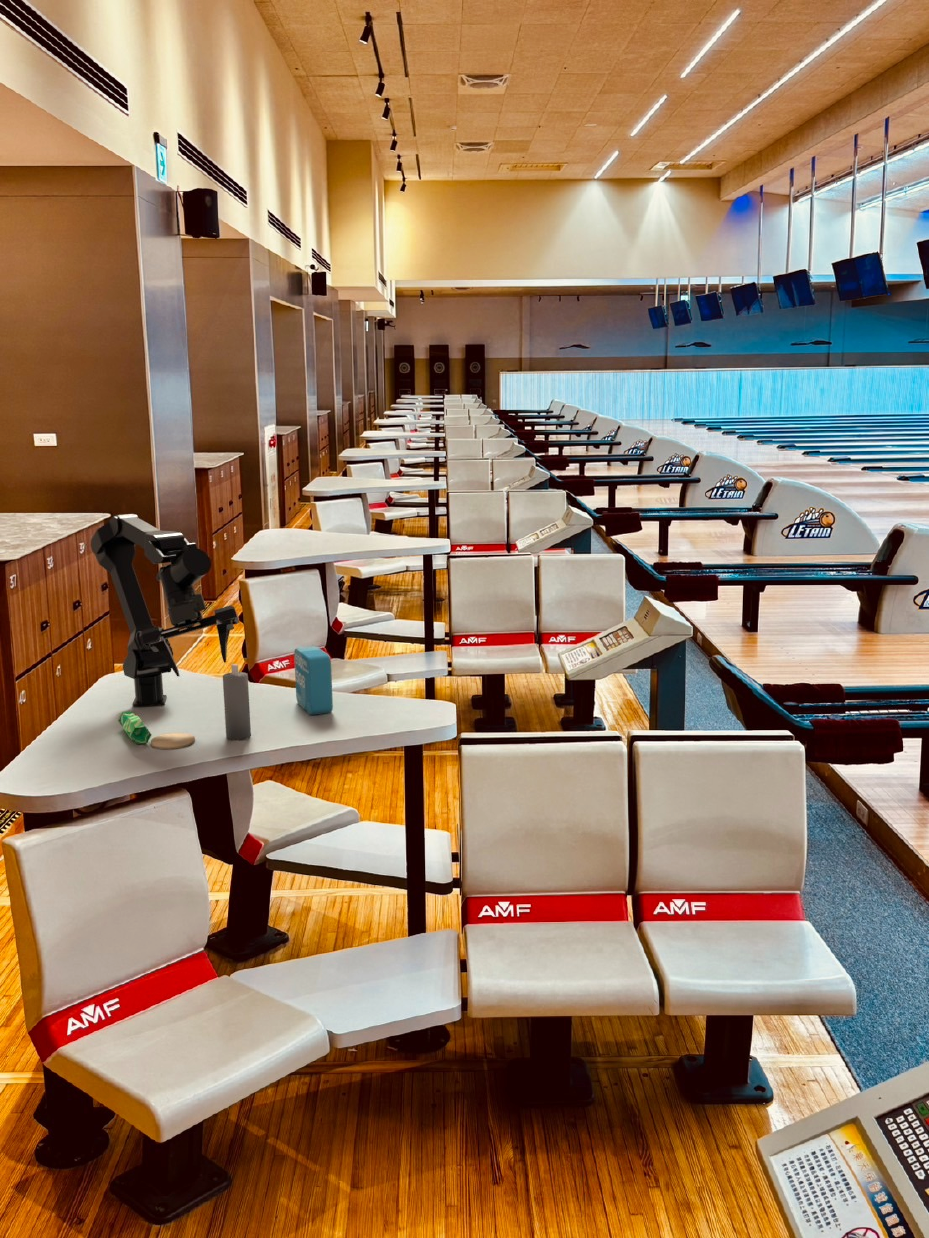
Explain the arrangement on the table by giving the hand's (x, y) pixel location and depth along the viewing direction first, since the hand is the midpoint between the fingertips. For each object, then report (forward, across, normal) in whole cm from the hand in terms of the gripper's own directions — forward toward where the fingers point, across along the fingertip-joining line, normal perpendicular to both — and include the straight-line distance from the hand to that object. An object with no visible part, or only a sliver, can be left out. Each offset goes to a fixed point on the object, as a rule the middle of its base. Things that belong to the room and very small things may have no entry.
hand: (201, 669), depth 219 cm
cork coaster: (+13, -8, -4) cm, 16 cm away
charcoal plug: (+15, +3, -3) cm, 16 cm away
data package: (+12, +18, +14) cm, 26 cm away
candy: (+9, -15, 0) cm, 18 cm away
